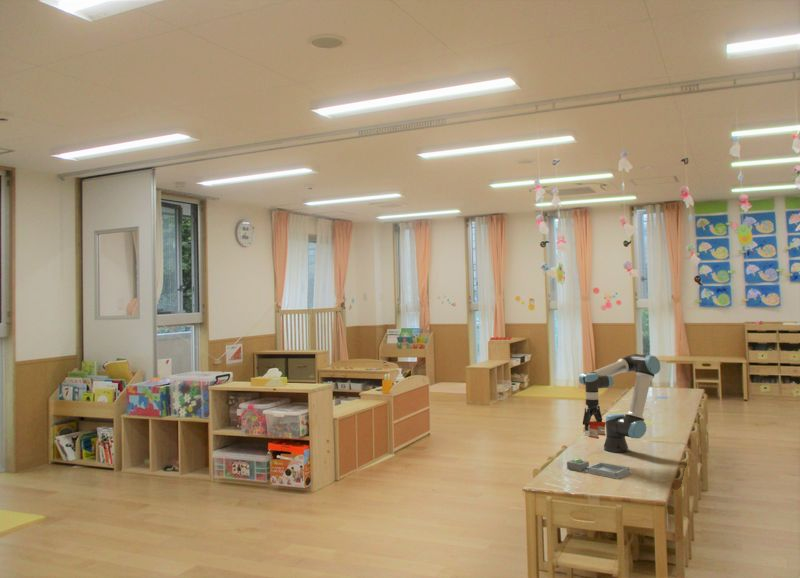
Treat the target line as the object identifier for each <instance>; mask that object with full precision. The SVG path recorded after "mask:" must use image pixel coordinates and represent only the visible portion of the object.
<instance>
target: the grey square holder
mask: <svg viewBox="0 0 800 578" xmlns="http://www.w3.org/2000/svg"><path fill="white" fill-rule="evenodd" d="M589 466H590V461H588V460H582V463H575V462H574V459H572V460H568V461H567V462H566V467H567V468H566V469H567V470H572V471H576V472H585V470H587V467H589Z"/></svg>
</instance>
